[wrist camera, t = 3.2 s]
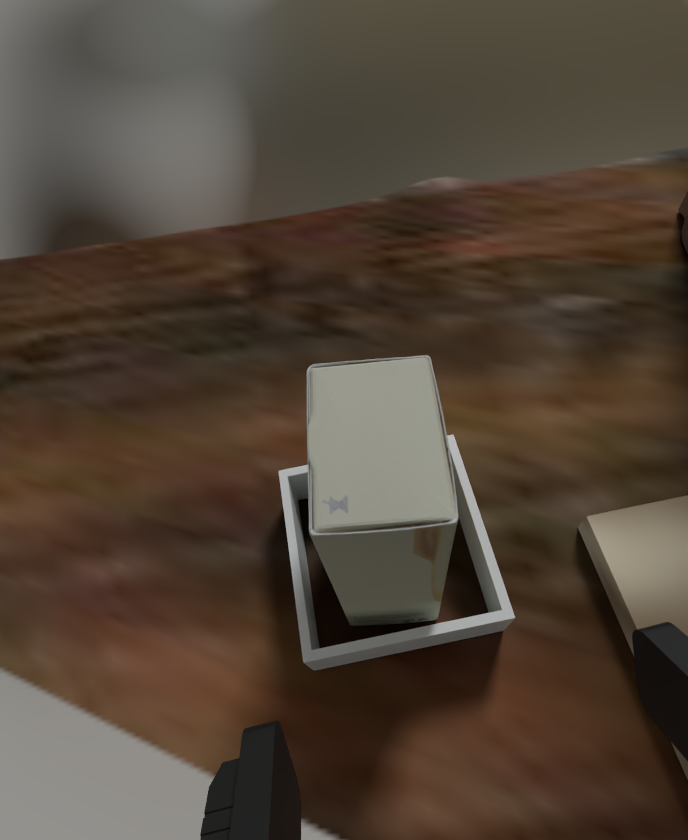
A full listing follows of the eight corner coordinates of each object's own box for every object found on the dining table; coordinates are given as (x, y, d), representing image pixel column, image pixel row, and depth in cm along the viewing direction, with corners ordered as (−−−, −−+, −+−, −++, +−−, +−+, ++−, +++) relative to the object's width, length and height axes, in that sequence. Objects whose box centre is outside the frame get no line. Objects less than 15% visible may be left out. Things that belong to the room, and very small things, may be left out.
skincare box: (440, 622, 25) (466, 535, 14) (347, 628, 25) (306, 548, 14) (423, 493, 28) (434, 347, 18) (341, 500, 28) (304, 360, 18)
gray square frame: (289, 494, 29) (278, 470, 26) (449, 461, 29) (453, 434, 26) (314, 670, 24) (303, 662, 21) (503, 630, 24) (515, 617, 22)
